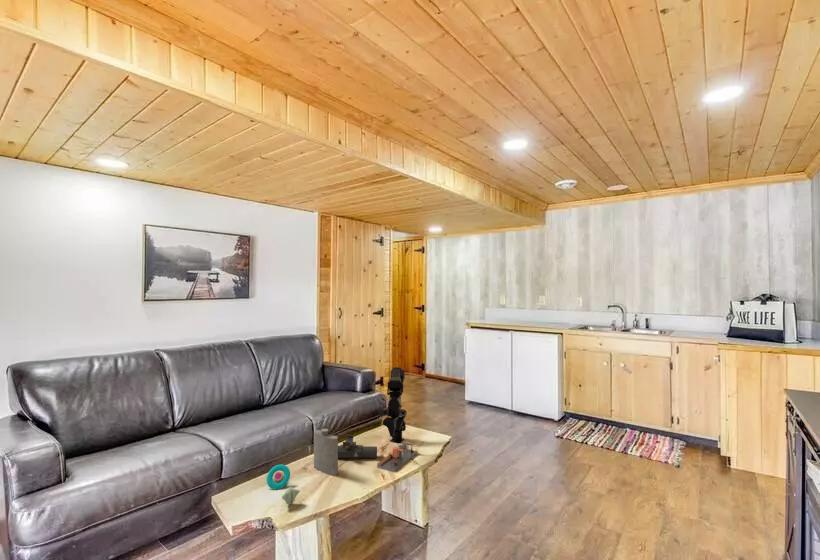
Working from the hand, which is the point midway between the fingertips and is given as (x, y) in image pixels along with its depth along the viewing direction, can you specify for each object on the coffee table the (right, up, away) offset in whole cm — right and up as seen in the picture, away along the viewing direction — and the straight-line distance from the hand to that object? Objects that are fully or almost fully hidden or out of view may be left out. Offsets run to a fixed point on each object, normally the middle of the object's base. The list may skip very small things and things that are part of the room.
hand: (394, 433), depth 214 cm
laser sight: (-21, -13, -1) cm, 24 cm away
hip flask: (-33, -12, -16) cm, 39 cm away
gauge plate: (+2, -12, -4) cm, 13 cm away
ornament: (-51, -12, -30) cm, 61 cm away
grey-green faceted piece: (-42, -12, -46) cm, 63 cm away
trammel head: (+1, -11, -4) cm, 11 cm away
